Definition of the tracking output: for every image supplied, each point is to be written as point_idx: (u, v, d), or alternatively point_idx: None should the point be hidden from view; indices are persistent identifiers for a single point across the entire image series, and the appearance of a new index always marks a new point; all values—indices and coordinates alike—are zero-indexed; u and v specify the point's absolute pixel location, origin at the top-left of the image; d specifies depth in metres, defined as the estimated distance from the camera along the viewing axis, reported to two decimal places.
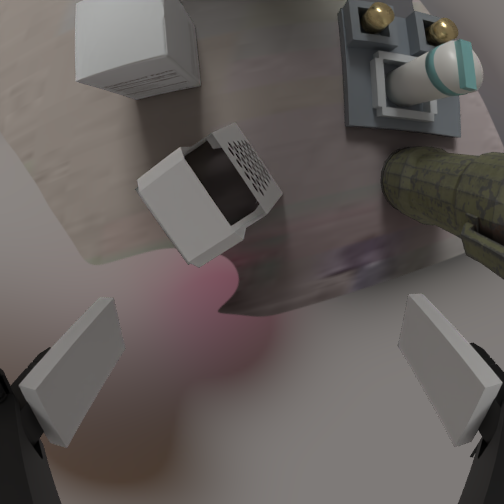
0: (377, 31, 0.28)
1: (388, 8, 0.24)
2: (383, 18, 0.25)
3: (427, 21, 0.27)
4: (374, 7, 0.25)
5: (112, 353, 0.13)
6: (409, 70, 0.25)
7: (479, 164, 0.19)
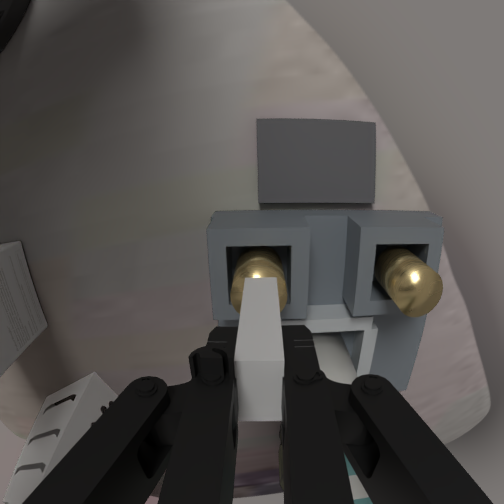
0: None
1: None
2: None
3: None
4: (241, 287, 0.16)
5: None
6: None
7: None
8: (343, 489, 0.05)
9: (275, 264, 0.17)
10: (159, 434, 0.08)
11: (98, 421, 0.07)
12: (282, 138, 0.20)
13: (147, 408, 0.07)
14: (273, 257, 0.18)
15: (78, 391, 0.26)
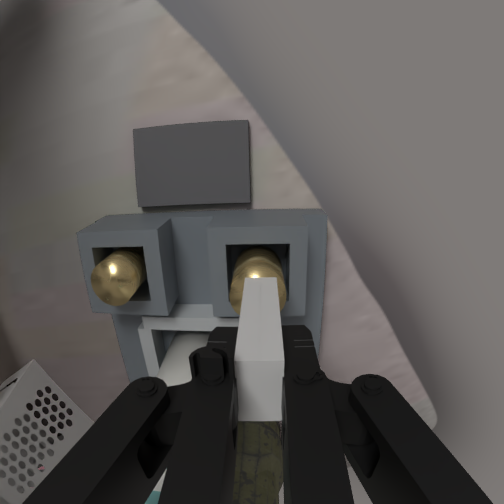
0: None
1: (121, 273, 0.17)
2: (113, 296, 0.18)
3: None
4: (97, 276, 0.17)
5: None
6: None
7: None
8: (343, 489, 0.05)
9: (130, 257, 0.19)
10: (159, 434, 0.08)
11: (98, 421, 0.07)
12: (155, 145, 0.21)
13: (147, 408, 0.07)
14: (135, 252, 0.20)
15: (20, 375, 0.26)
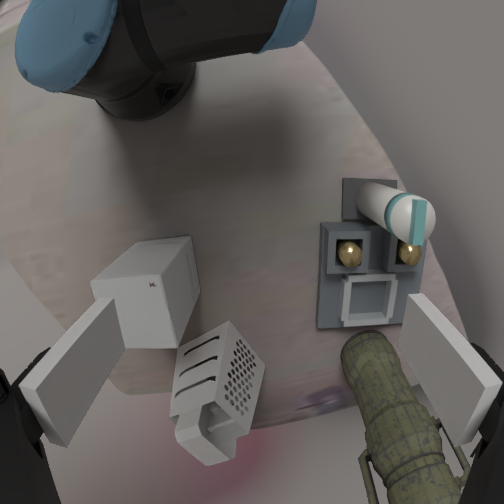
0: None
1: (358, 250, 0.39)
2: (351, 262, 0.39)
3: None
4: (345, 252, 0.39)
5: (112, 353, 0.13)
6: (374, 205, 0.35)
7: (384, 420, 0.32)
8: None
9: None
10: None
11: None
12: (355, 188, 0.42)
13: None
14: (353, 241, 0.41)
15: (220, 333, 0.48)
